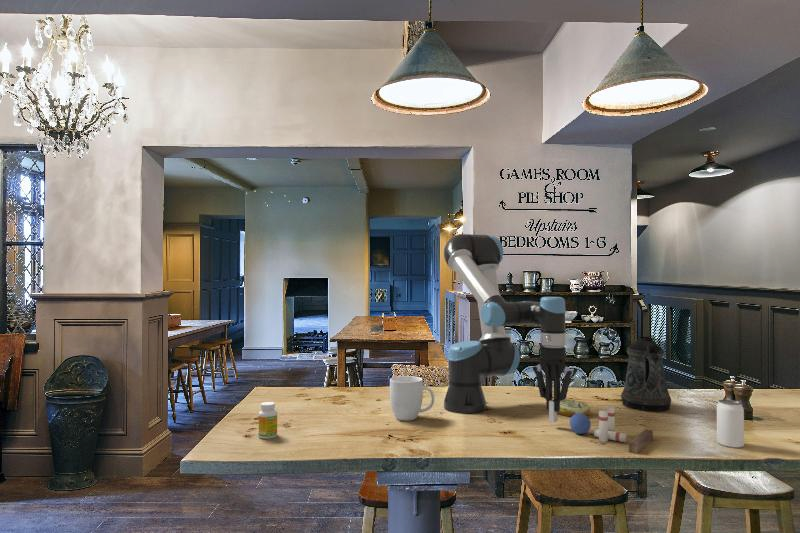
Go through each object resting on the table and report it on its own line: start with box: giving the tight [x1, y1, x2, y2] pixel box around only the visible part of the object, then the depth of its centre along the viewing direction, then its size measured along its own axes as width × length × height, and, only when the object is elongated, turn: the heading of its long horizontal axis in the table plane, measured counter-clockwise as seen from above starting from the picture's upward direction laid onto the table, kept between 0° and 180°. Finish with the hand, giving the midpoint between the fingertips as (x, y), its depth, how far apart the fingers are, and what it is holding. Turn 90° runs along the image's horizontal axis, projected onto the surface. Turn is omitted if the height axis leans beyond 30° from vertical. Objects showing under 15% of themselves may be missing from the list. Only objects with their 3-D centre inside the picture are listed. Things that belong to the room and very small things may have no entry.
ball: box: [569, 413, 592, 435], centre depth 156 cm, size 6×6×6 cm
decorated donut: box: [557, 399, 591, 418], centre depth 179 cm, size 11×12×4 cm
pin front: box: [593, 428, 628, 443], centre depth 151 cm, size 2×2×8 cm
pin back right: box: [598, 409, 609, 443], centre depth 150 cm, size 2×2×8 cm
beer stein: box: [620, 336, 672, 413], centre depth 188 cm, size 16×19×25 cm
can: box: [716, 399, 745, 449], centre depth 147 cm, size 6×6×12 cm
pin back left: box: [605, 405, 616, 432], centre depth 154 cm, size 2×2×8 cm
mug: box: [389, 375, 435, 422], centre depth 173 cm, size 15×11×13 cm
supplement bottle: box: [258, 401, 278, 440], centre depth 154 cm, size 5×5×10 cm
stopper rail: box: [628, 428, 654, 455], centre depth 146 cm, size 2×16×2 cm, turn 140°
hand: (553, 421), depth 163 cm, fingers closed
